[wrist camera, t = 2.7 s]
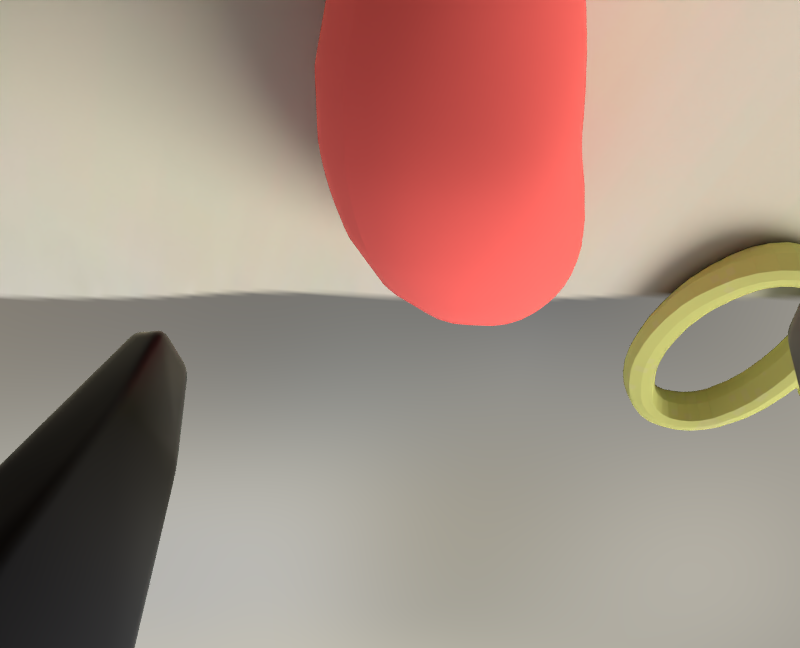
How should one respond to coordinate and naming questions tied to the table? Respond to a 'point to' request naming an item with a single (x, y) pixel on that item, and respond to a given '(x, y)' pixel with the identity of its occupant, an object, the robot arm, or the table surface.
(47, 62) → the table surface
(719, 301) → the key
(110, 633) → the robot arm
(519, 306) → the red bean-shaped piece
